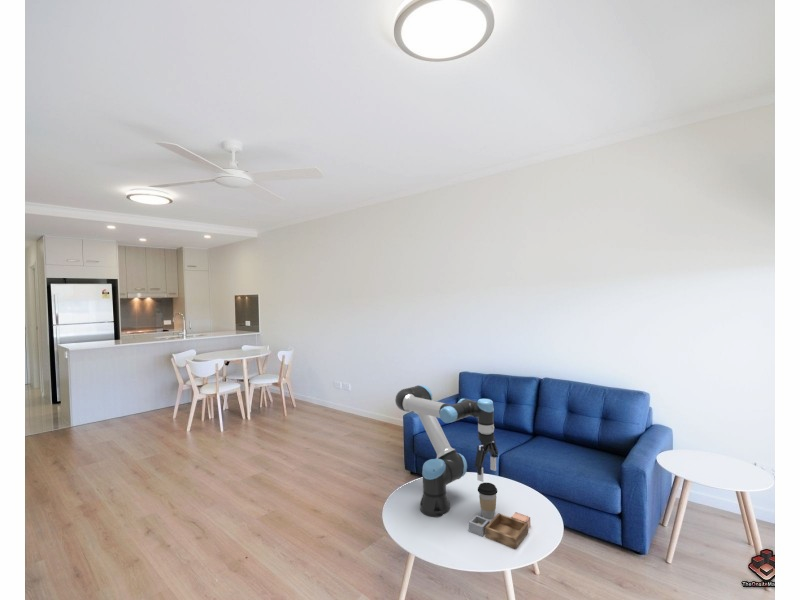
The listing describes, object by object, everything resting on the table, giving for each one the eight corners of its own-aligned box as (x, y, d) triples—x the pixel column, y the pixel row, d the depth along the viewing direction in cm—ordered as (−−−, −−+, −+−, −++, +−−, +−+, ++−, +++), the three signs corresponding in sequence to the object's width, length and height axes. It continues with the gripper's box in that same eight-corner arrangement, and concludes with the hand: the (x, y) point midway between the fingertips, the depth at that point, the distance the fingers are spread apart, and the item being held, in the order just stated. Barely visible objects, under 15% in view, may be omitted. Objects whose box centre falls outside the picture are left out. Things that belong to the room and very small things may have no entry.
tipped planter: (511, 527, 178) (511, 517, 178) (515, 522, 182) (515, 512, 182) (526, 533, 174) (526, 522, 174) (530, 527, 177) (530, 517, 177)
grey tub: (468, 532, 175) (468, 521, 175) (476, 525, 181) (475, 514, 181) (482, 538, 171) (482, 527, 171) (489, 530, 176) (489, 519, 176)
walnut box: (485, 538, 171) (485, 527, 171) (499, 523, 181) (498, 513, 181) (515, 551, 162) (515, 539, 162) (528, 534, 173) (527, 523, 173)
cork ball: (474, 530, 176) (474, 523, 176) (477, 527, 178) (477, 520, 178) (480, 532, 174) (480, 526, 174) (483, 529, 176) (483, 523, 176)
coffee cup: (498, 523, 182) (497, 492, 181) (478, 521, 183) (477, 490, 183) (497, 512, 191) (496, 482, 191) (478, 510, 193) (477, 481, 193)
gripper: (480, 441, 174) (482, 488, 175) (504, 426, 194) (505, 468, 194) (466, 438, 179) (467, 483, 179) (490, 423, 198) (491, 464, 199)
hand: (487, 475), depth 187 cm, fingers open, 13 cm apart
